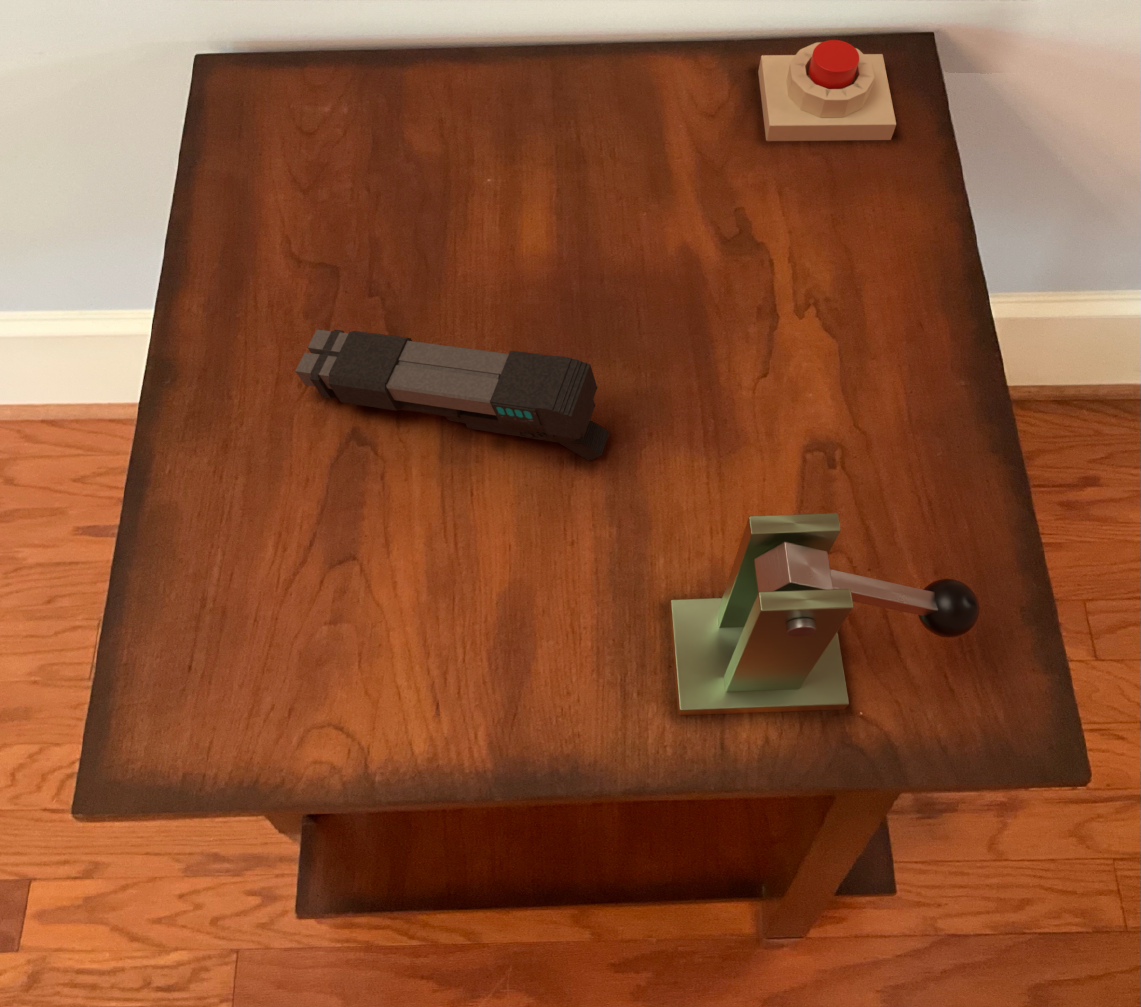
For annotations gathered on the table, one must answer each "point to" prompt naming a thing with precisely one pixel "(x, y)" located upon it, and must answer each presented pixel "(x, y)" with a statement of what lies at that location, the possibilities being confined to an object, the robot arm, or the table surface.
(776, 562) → the switch lever
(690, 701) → the switch bracket
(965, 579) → the table surface
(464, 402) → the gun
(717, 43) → the table surface
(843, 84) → the red button
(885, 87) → the button box
